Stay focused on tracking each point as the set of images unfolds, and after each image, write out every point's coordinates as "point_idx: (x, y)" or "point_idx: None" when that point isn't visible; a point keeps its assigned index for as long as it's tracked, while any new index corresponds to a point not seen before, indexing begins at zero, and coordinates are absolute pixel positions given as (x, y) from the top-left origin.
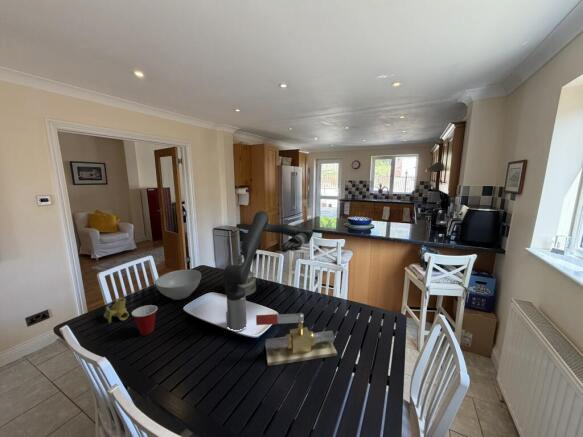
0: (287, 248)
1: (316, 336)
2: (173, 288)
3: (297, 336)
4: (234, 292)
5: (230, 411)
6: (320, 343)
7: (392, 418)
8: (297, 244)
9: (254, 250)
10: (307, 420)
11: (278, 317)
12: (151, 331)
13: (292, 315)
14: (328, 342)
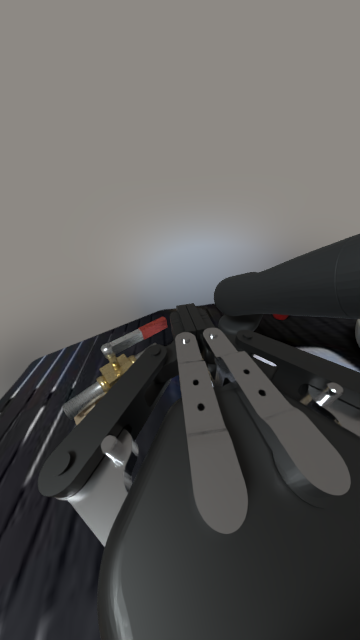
0: (173, 324)
1: (93, 384)
2: (357, 322)
3: (119, 361)
4: (226, 315)
5: (153, 319)
6: (94, 402)
7: (29, 367)
8: (121, 520)
9: (295, 281)
10: (102, 336)
11: (137, 329)
12: (275, 316)
13: (118, 340)
14: (80, 414)
